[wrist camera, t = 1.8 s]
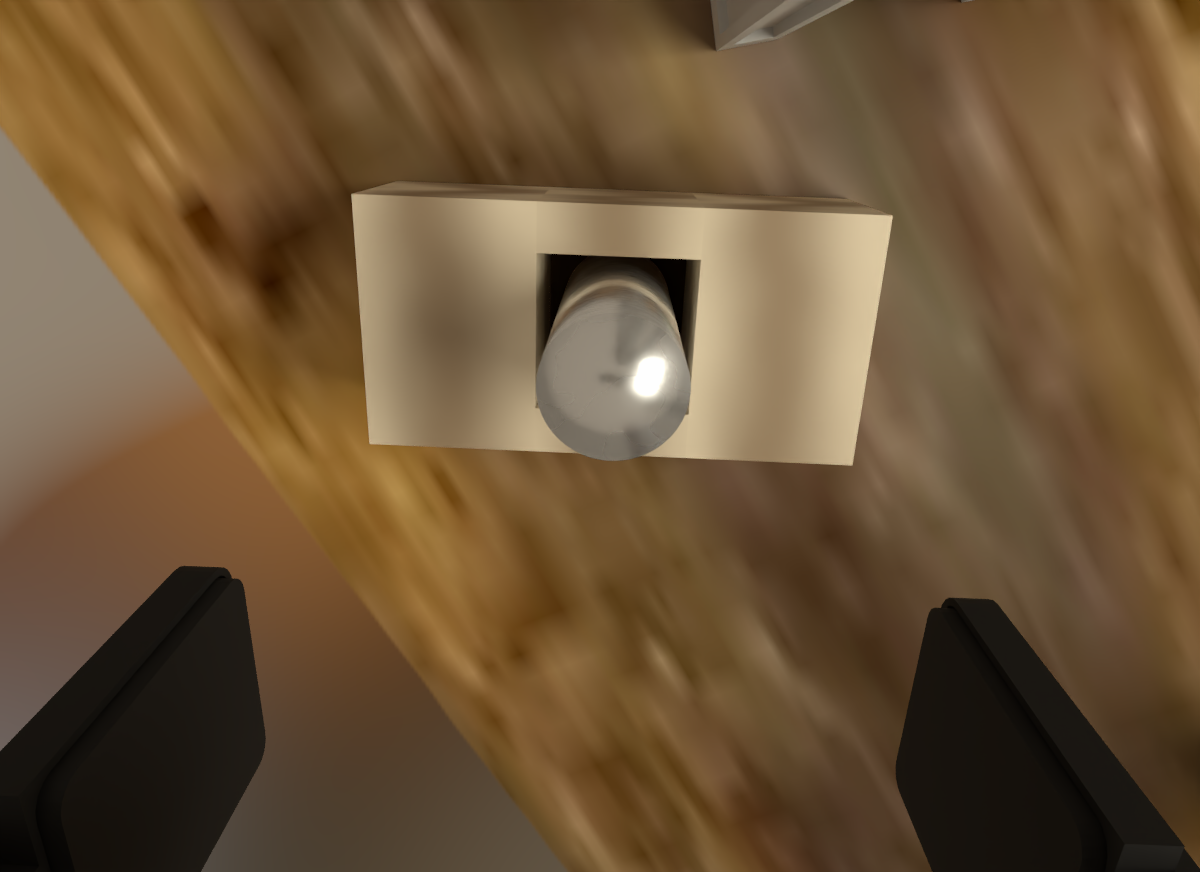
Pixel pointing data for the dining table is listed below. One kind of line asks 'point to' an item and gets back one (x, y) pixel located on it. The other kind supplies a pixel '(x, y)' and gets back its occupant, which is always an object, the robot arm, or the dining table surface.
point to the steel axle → (614, 361)
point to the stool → (764, 19)
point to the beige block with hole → (626, 229)
